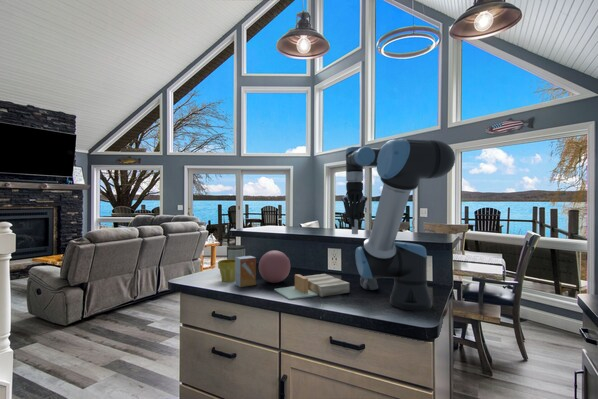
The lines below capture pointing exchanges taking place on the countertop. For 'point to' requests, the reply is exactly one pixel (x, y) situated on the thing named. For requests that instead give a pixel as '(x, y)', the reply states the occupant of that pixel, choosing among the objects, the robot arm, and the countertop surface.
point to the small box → (245, 271)
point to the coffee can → (235, 251)
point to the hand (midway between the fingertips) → (354, 234)
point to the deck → (327, 285)
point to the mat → (294, 293)
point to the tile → (301, 283)
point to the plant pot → (227, 270)
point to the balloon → (274, 266)
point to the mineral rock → (368, 283)
